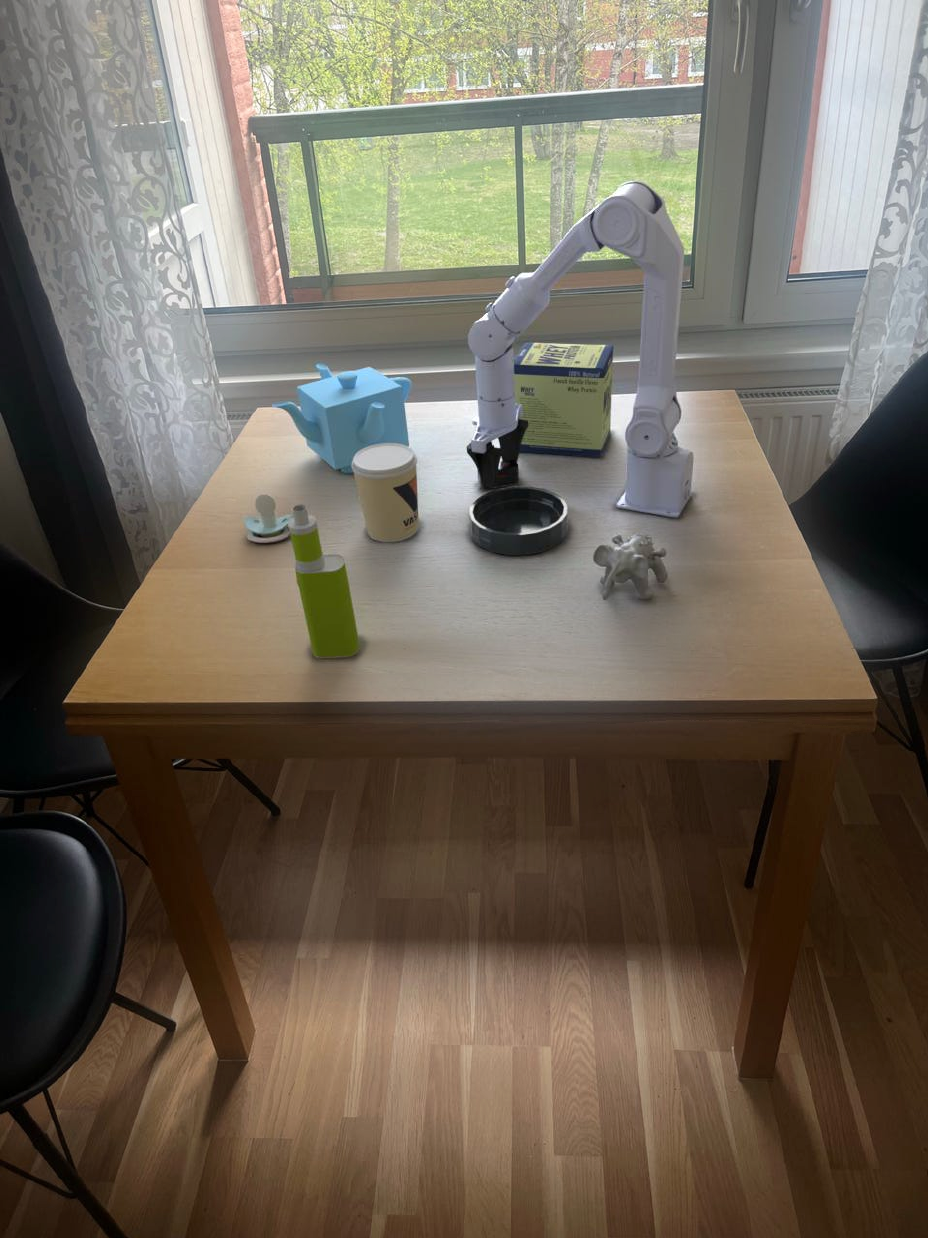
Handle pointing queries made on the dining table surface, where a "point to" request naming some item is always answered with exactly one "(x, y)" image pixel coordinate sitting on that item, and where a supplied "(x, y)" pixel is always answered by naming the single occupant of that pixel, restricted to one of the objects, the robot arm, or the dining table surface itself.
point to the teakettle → (350, 413)
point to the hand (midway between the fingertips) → (500, 475)
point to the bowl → (518, 520)
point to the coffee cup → (387, 490)
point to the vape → (322, 590)
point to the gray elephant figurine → (631, 564)
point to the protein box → (564, 397)
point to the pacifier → (267, 522)
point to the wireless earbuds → (505, 474)
